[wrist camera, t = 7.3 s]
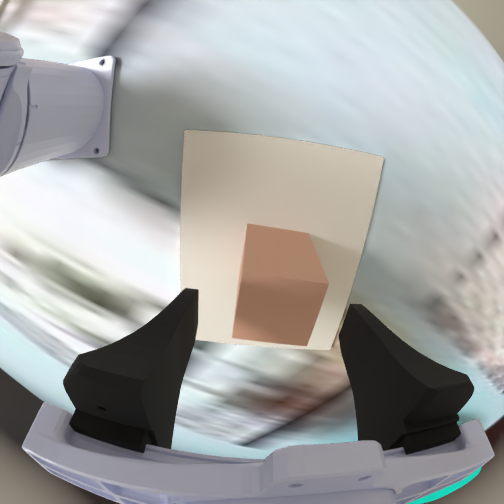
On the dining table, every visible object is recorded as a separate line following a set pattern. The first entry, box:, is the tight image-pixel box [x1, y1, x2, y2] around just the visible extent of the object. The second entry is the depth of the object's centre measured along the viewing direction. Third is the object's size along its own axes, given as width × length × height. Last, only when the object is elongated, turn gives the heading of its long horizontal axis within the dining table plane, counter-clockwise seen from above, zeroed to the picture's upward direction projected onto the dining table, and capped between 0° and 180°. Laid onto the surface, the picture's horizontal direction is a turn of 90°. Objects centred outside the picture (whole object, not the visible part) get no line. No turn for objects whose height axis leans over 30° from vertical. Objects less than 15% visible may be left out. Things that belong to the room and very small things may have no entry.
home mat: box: [180, 130, 384, 350], centre depth 22 cm, size 14×18×1 cm
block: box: [232, 223, 329, 346], centre depth 19 cm, size 4×4×7 cm
